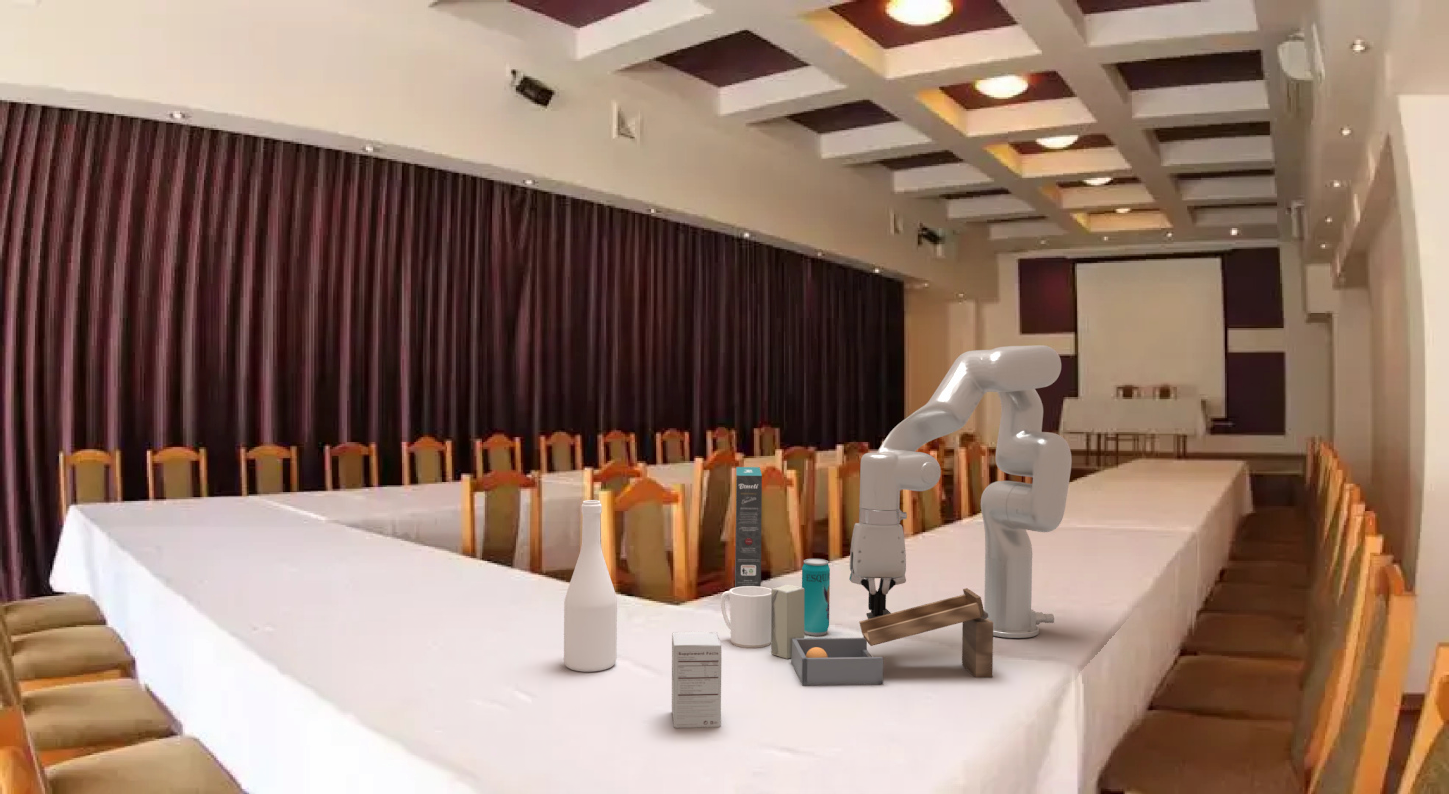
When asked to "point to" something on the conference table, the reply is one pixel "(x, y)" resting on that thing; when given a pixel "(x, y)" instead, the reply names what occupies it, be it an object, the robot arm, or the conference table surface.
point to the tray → (836, 662)
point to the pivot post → (978, 647)
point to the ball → (816, 653)
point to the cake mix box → (748, 526)
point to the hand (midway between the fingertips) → (876, 613)
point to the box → (786, 618)
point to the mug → (749, 616)
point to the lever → (922, 618)
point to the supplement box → (696, 679)
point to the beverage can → (816, 596)
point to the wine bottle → (590, 602)
